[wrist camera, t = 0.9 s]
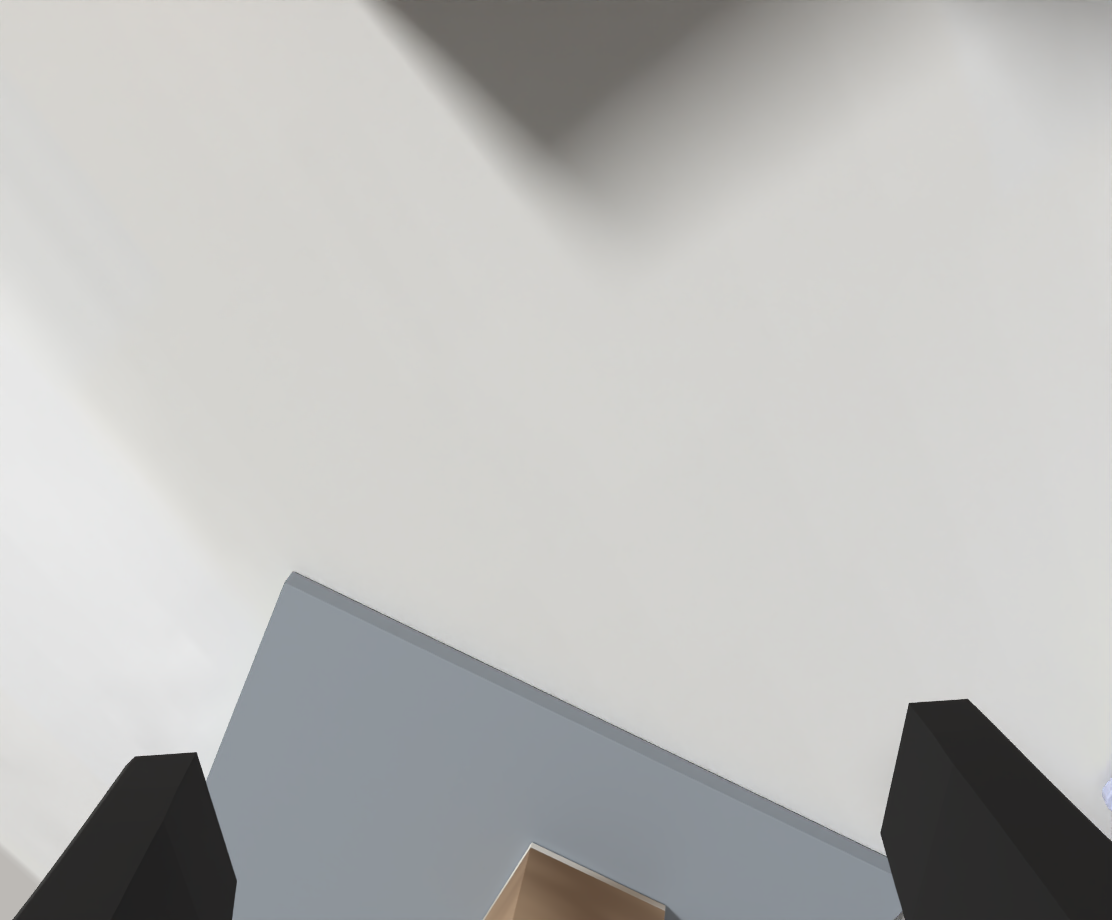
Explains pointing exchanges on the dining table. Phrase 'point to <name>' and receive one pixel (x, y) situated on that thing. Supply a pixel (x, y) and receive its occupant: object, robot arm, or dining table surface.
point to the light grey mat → (482, 791)
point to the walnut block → (567, 893)
